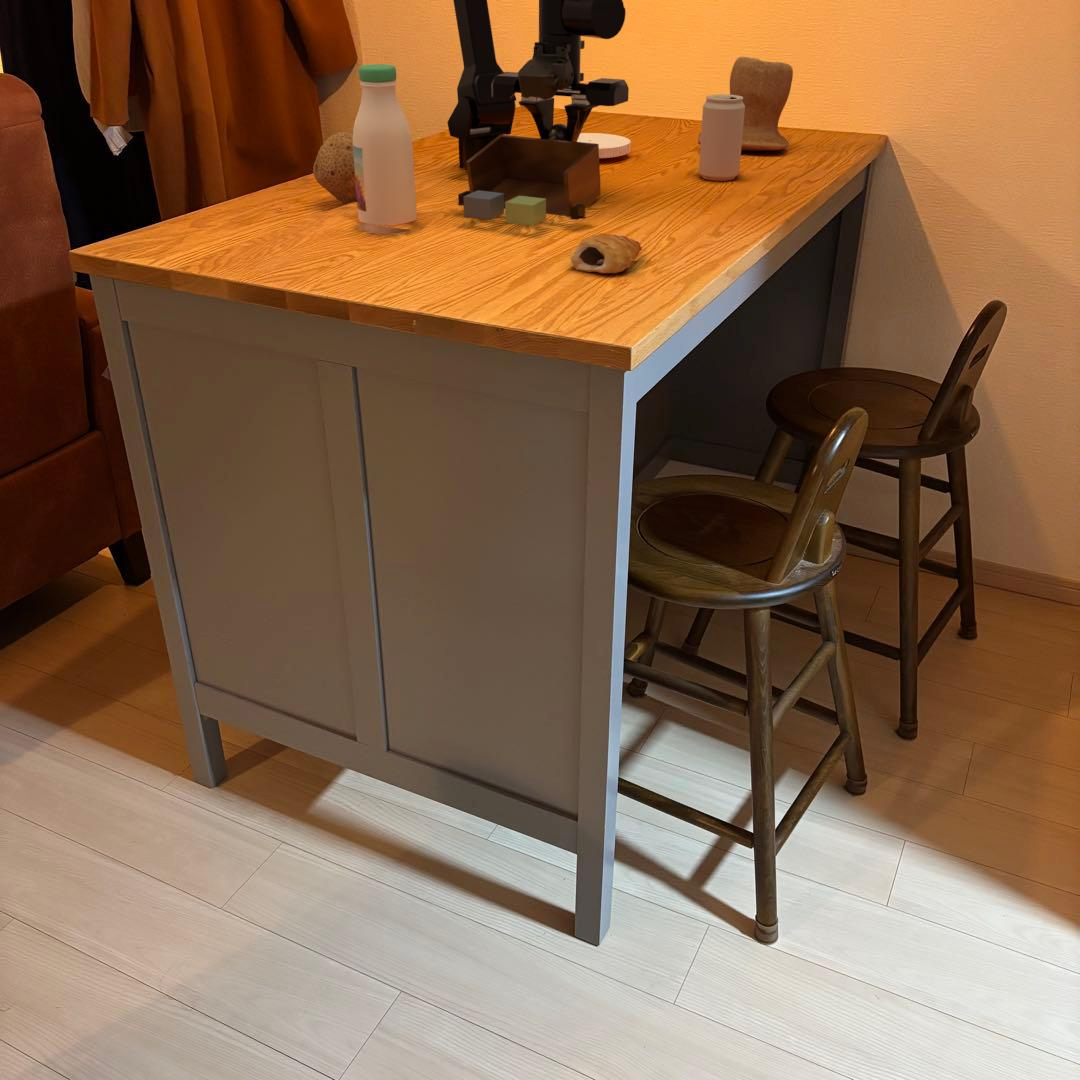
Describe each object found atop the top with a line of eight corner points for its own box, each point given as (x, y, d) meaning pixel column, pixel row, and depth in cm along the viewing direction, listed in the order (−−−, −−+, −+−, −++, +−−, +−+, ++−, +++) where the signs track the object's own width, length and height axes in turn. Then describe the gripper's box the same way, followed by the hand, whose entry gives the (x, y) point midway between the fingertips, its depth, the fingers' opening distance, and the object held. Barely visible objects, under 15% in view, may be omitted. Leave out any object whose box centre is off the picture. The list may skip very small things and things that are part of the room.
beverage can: (737, 182, 166) (745, 100, 160) (696, 180, 168) (702, 98, 161) (739, 174, 172) (746, 93, 166) (699, 172, 173) (705, 92, 167)
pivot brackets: (455, 214, 150) (454, 193, 148) (463, 210, 151) (462, 190, 150) (581, 230, 142) (582, 209, 141) (588, 226, 144) (589, 205, 143)
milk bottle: (426, 223, 145) (418, 63, 135) (402, 237, 139) (391, 71, 129) (375, 218, 148) (363, 60, 137) (349, 232, 141) (334, 68, 131)
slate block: (478, 220, 147) (464, 226, 144) (477, 190, 145) (463, 196, 142) (504, 223, 145) (490, 230, 142) (504, 193, 143) (489, 199, 140)
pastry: (608, 251, 134) (609, 220, 132) (655, 260, 131) (657, 228, 129) (566, 269, 127) (567, 237, 125) (614, 279, 124) (616, 246, 122)
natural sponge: (305, 209, 152) (296, 135, 147) (336, 195, 159) (329, 124, 154) (362, 215, 149) (355, 139, 144) (391, 200, 156) (386, 128, 151)
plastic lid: (646, 158, 182) (647, 142, 181) (580, 168, 175) (580, 152, 174) (597, 145, 192) (597, 130, 191) (532, 153, 185) (532, 138, 184)
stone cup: (791, 145, 192) (801, 54, 185) (784, 158, 183) (795, 62, 175) (707, 140, 196) (714, 50, 188) (696, 152, 186) (703, 58, 179)
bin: (472, 212, 150) (464, 155, 144) (521, 170, 160) (515, 116, 155) (571, 225, 144) (567, 166, 139) (615, 180, 154) (612, 124, 149)
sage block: (519, 225, 144) (505, 232, 141) (519, 195, 142) (505, 201, 139) (546, 229, 143) (532, 236, 140) (546, 198, 141) (532, 205, 138)
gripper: (470, 35, 142) (473, 157, 150) (599, 42, 135) (595, 170, 143) (509, 28, 151) (510, 144, 159) (632, 34, 144) (627, 156, 152)
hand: (558, 153), depth 153 cm, fingers closed on bin, 3 cm apart
